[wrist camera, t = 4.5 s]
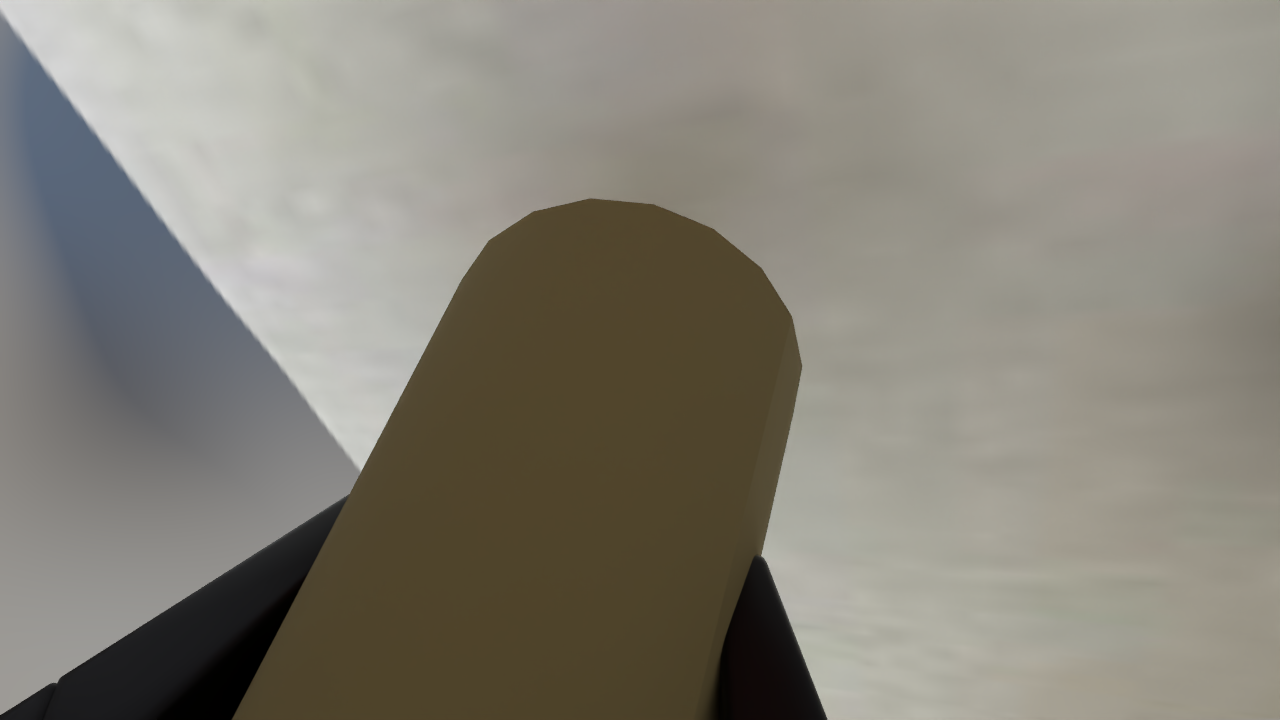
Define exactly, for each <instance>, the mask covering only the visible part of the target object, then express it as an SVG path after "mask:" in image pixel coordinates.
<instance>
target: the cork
mask: <svg viewBox="0 0 1280 720" xmlns="http://www.w3.org/2000/svg"><path fill="white" fill-rule="evenodd" d="M801 370H802V363H801V358H800V353H799V348H798V343H797V339H796V334H795V329H794V324H793V319H792V316H791V314H790V313H789V311H788V309H787V308H786V306H785V305H784V303H783V301H782V300H781V298H780V297H779V295H778V294H777V292H776V290H775V289H774V287H773V286H772V284H771V282H770V281H769V279H768V278H767V276H766V274H765V273H764V271H763V270H762V268H761V267H759V266H758V265H757V264H756V263H754V262H753V261H752V260H751V259H750V258H748V257H747V256H746V255H745V254H744V253H742V252H741V251H740V250H739V249H737V248H736V247H735V246H734V245H733V244H731V243H730V242H729V241H728V240H726V239H725V238H724V237H723V236H722V235H720V234H719V233H718V232H717V231H715V230H714V229H712V228H710V227H708V226H705V225H703V224H700V223H698V222H695V221H693V220H691V219H688V218H686V217H683V216H681V215H678V214H676V213H673V212H671V211H669V210H666V209H664V208H661V207H659V206H656V205H654V204H644V203H633V202H622V201H611V200H600V199H587V200H582V201H578V202H573V203H569V204H565V205H560V206H556V207H551V208H547V209H543V210H538V211H534V212H532V213H530V214H529V215H527V216H526V217H524V218H523V219H521V220H520V221H518V222H517V223H515V224H514V225H512V226H510V227H509V228H507V229H506V230H504V231H503V232H501V233H500V234H498V235H497V236H495V237H493V238H492V239H490V240H489V241H488V243H487V244H486V246H485V247H484V248H483V250H482V251H481V253H480V254H479V256H478V257H477V259H476V260H475V261H474V263H473V264H472V266H471V267H470V269H469V270H468V272H467V273H466V274H465V276H464V277H463V279H462V280H461V282H460V284H459V286H458V288H457V290H456V292H455V294H454V296H453V298H452V300H451V301H450V303H449V305H448V307H447V309H446V311H445V313H444V315H443V317H442V319H441V321H440V323H439V324H438V326H437V328H436V330H435V332H434V334H433V336H432V338H431V340H430V342H429V344H428V345H427V347H426V349H425V351H424V353H423V355H422V357H421V359H420V361H419V363H418V365H417V366H416V368H415V370H414V372H413V374H412V376H411V378H410V380H409V382H408V384H407V386H406V388H405V389H404V391H403V393H402V395H401V397H400V399H399V401H398V403H397V405H396V407H395V409H394V410H393V412H392V414H391V416H390V418H389V420H388V422H387V424H386V426H385V428H384V430H383V431H382V433H381V435H380V437H379V439H378V441H377V443H376V445H375V447H374V449H373V451H372V452H371V454H370V456H369V458H368V460H367V462H366V464H365V466H364V468H363V470H362V472H361V474H360V476H359V477H358V479H357V481H356V483H355V485H354V487H353V489H352V491H351V493H350V495H349V496H348V498H347V500H346V502H345V504H344V506H343V508H342V510H341V512H340V514H339V516H338V517H337V519H336V521H335V523H334V525H333V527H332V529H331V531H330V533H329V535H328V537H327V539H326V540H325V542H324V544H323V546H322V548H321V550H320V552H319V554H318V556H317V558H316V560H315V561H314V563H313V565H312V567H311V569H310V571H309V573H308V575H307V577H306V579H305V581H304V582H303V584H302V586H301V588H300V590H299V592H298V594H297V596H296V598H295V600H294V602H293V603H292V605H291V607H290V609H289V611H288V613H287V615H286V617H285V619H284V621H283V623H282V625H281V626H280V628H279V630H278V632H277V634H276V636H275V638H274V640H273V642H272V644H271V646H270V647H269V649H268V651H267V653H266V655H265V657H264V659H263V661H262V663H261V665H260V667H259V668H258V670H257V672H256V674H255V676H254V678H253V680H252V682H251V684H250V686H249V688H248V690H247V691H246V693H245V695H244V697H243V699H242V701H241V703H240V705H239V707H238V709H237V711H236V712H235V714H234V716H233V718H232V720H719V702H720V667H721V653H722V648H723V643H724V640H725V636H726V633H727V630H728V627H729V624H730V621H731V618H732V615H733V612H734V610H735V607H736V604H737V601H738V599H739V596H740V593H741V590H742V587H743V585H744V582H745V579H746V576H747V574H748V571H749V568H750V565H751V563H752V560H753V558H754V556H755V555H759V556H761V554H762V550H763V545H764V541H765V536H766V532H767V527H768V523H769V519H770V514H771V510H772V505H773V501H774V496H775V492H776V488H777V483H778V479H779V474H780V470H781V465H782V461H783V456H784V452H785V448H786V443H787V439H788V434H789V430H790V425H791V421H792V417H793V412H794V407H795V402H796V396H797V391H798V386H799V381H800V375H801Z"/></svg>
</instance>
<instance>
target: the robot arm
mask: <svg viewBox="0 0 1280 720" xmlns="http://www.w3.org/2000/svg"><path fill="white" fill-rule="evenodd" d="M349 495H350V494H349ZM349 495H347V496H346V497H344V498H343V499H341V500H340V501H338V502H336V503H335V504H333V505H331V506H330V507H328V508H327V509H325V510H324V511H322V512H320V513H319V514H317V515H316V516H314V517H313V518H311V519H309V520H308V521H306V522H305V523H303V524H302V525H300V526H298V527H297V528H295V529H294V530H292V531H291V532H289V533H288V534H286V535H284V536H283V537H281V538H280V539H278V540H276V541H275V542H273V543H272V544H270V545H268V546H267V547H265V548H264V549H262V550H261V551H259V552H257V553H256V554H254V555H253V556H251V557H250V558H248V559H246V560H245V561H243V562H242V563H240V564H239V565H237V566H236V567H234V568H233V569H231V570H229V571H228V572H226V573H224V574H223V575H221V576H220V577H218V578H216V579H215V580H213V581H212V582H210V583H209V584H207V585H205V586H204V587H202V588H201V589H199V590H198V591H196V592H194V593H193V594H191V595H190V596H188V597H187V598H185V599H183V600H182V601H180V602H179V603H177V604H176V605H174V606H172V607H171V608H169V609H168V610H166V611H165V612H163V613H161V614H160V615H158V616H157V617H155V618H153V619H152V620H150V621H149V622H147V623H146V624H144V625H142V626H141V627H139V628H138V629H136V630H135V631H133V632H132V633H130V634H128V635H127V636H125V637H124V638H122V639H120V640H119V641H117V642H116V643H114V644H113V645H111V646H109V647H108V648H106V649H105V650H103V651H101V652H100V653H98V654H97V655H95V656H94V657H92V658H90V659H89V660H87V661H86V662H84V663H83V664H81V665H79V666H78V667H76V668H75V669H73V670H72V671H70V672H68V673H67V674H65V675H64V676H62V677H61V678H60V679H59V681H58V683H52V684H49V685H48V686H46V687H45V688H43V689H41V690H40V691H38V692H36V693H35V694H33V695H32V696H30V697H29V698H27V699H25V700H24V701H22V702H21V703H19V704H18V705H16V706H14V707H13V708H11V709H10V710H8V711H6V712H5V713H3V714H1V715H0V720H232V718H233V716H234V714H235V712H236V711H237V709H238V707H239V705H240V703H241V701H242V699H243V697H244V695H245V693H246V691H247V690H248V688H249V686H250V684H251V682H252V680H253V678H254V676H255V674H256V672H257V670H258V668H259V667H260V665H261V663H262V661H263V659H264V657H265V655H266V653H267V651H268V649H269V647H270V646H271V644H272V642H273V640H274V638H275V636H276V634H277V632H278V630H279V628H280V626H281V625H282V623H283V621H284V619H285V617H286V615H287V613H288V611H289V609H290V607H291V605H292V603H293V602H294V600H295V598H296V596H297V594H298V592H299V590H300V588H301V586H302V584H303V582H304V581H305V579H306V577H307V575H308V573H309V571H310V569H311V567H312V565H313V563H314V561H315V560H316V558H317V556H318V554H319V552H320V550H321V548H322V546H323V544H324V542H325V540H326V539H327V537H328V535H329V533H330V531H331V529H332V527H333V525H334V523H335V521H336V519H337V517H338V516H339V514H340V512H341V510H342V508H343V506H344V504H345V502H346V500H347V498H348V496H349ZM719 720H827V717H826V714H825V712H824V709H823V707H822V704H821V702H820V699H819V696H818V694H817V691H816V689H815V686H814V684H813V681H812V678H811V676H810V673H809V671H808V668H807V666H806V663H805V660H804V658H803V655H802V653H801V650H800V647H799V645H798V642H797V640H796V637H795V635H794V632H793V629H792V627H791V624H790V622H789V619H788V617H787V614H786V611H785V609H784V606H783V604H782V601H781V599H780V596H779V593H778V591H777V588H776V586H775V583H774V580H773V578H772V575H771V573H770V570H769V568H768V565H767V563H766V561H765V559H764V558H763V557H762V556H759V555H755V556H754V558H753V560H752V563H751V565H750V568H749V571H748V574H747V576H746V579H745V582H744V585H743V587H742V590H741V593H740V596H739V599H738V601H737V604H736V607H735V610H734V612H733V615H732V618H731V621H730V624H729V627H728V630H727V633H726V636H725V640H724V643H723V648H722V653H721V667H720V702H719Z"/></svg>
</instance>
